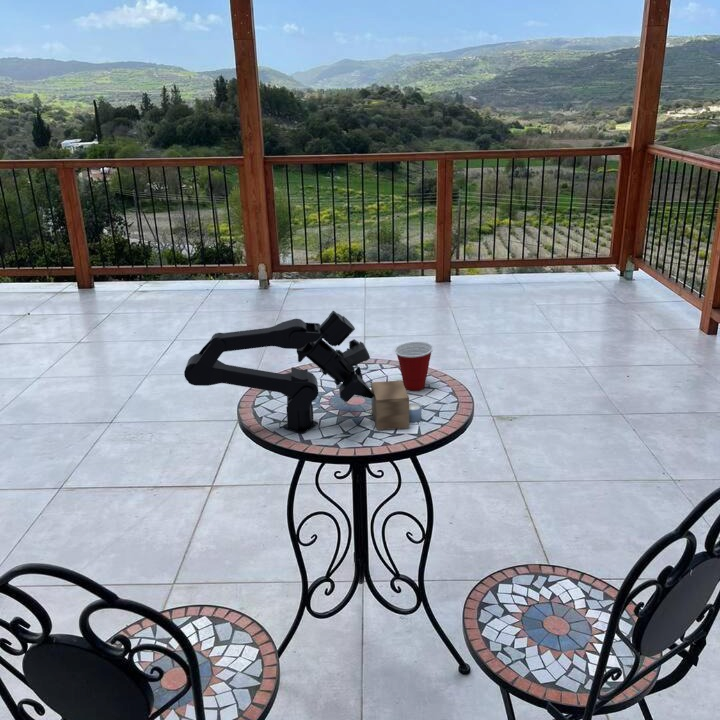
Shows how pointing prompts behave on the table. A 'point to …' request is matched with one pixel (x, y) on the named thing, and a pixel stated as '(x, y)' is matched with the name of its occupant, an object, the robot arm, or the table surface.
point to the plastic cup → (414, 363)
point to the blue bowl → (415, 412)
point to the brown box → (390, 405)
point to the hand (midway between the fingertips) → (372, 396)
